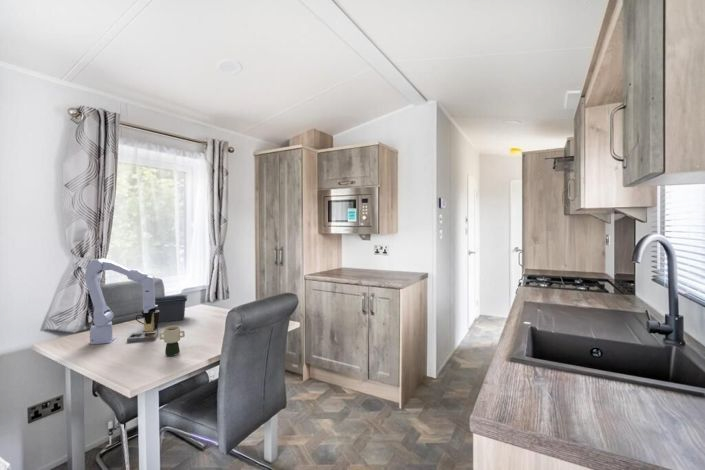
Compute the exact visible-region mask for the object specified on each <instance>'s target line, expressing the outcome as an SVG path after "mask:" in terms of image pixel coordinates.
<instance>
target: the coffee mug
mask: <svg viewBox="0 0 705 470" xmlns="http://www.w3.org/2000/svg"><path fill="white" fill-rule="evenodd" d="M139 316H140V317H142V319H144V316H143V314H138V315H136V317H135V320H136V321H137V322H138V323H140V324H141V325H144V322H142V321H139V320H138V317H139ZM158 319H159V310H156V311H155V314H154V329H153V330H157V329H158V327H159V322H158ZM153 330H152V331H153Z"/></svg>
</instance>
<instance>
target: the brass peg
mask: <svg viewBox="0 0 705 470" xmlns="http://www.w3.org/2000/svg"><path fill="white" fill-rule="evenodd" d="M143 323H144V324H143V331H144V332H151V331H153V329H154V312H153V315H152V320H151V324H146V322H145V318H143ZM154 330H155V329H154Z"/></svg>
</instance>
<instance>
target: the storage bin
mask: <svg viewBox="0 0 705 470" xmlns="http://www.w3.org/2000/svg"><path fill="white" fill-rule="evenodd" d="M187 301H188V294H178V295H167V296H165V295H164V296H155V305H158V306H157V307H156V308H157V309H156V310H159V319H158V323H164V322H172V321H174V322H175V321H181V320H184V319H185V315H186V314H185V312H186V311H185V310H186V302H187Z"/></svg>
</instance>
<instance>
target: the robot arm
mask: <svg viewBox="0 0 705 470" xmlns="http://www.w3.org/2000/svg"><path fill="white" fill-rule="evenodd" d="M85 267H86V269H85V273H84V276H83V277H84V281H85V284H86V286H87V290H88V294H89V296H90V299H91V302H92V306H93V314H92V316H93V319H92V322H93V324H94V325H91V326H90V328H89V345H99V344H101V345H102V344H109V343H112V342H113V341H114V340H115V339H116V336H113V335H114V334H113V319H114V317H115V316H114V312H113V311H112V310H111V308H110V307H109V306H108V305H107V302H106V299H105V297H104V293H103V290H102V287H101V283H100V280H99V276H100V275H101V274H102V273H103V272H104V271H113V272H116V273H119V274H121V275H124V276H126V278H127V279H128V280H130V281H132V282H134V283H137V284H139V285H141V287H142V309H143V310H142V311H141V315H143V316H144V318H145V322H146V324H151V320H152V315H153V312H154V314H155V311H156V309H157V308H156V307H157V306H158V305H155V297H156V289H155V286H156V285H155V284H156V282H157V279H156V277H155V276H154V275H152V274H148V273H144V272H142V271H140V270H139V269H135V268H133V269H128V268H127V267H125V266H123V265H120V264H119V263H117V262H114V261H112V260H111V259H107V258H105V257H100V258H98V259H93V260H91V261H89V263H87V265H86V266H85ZM144 318H143V319H144Z"/></svg>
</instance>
